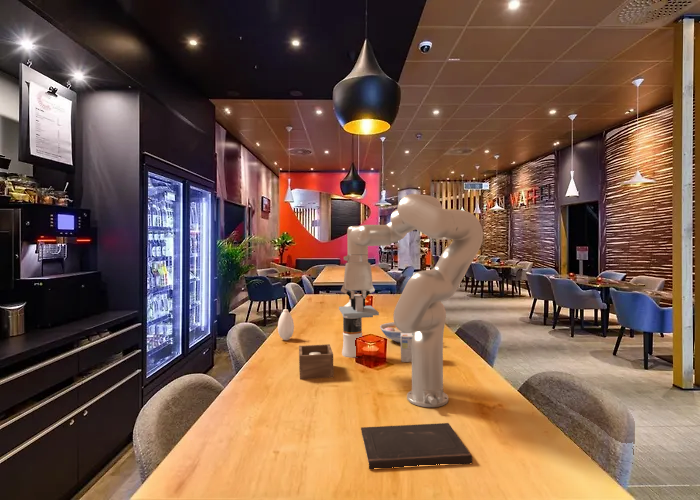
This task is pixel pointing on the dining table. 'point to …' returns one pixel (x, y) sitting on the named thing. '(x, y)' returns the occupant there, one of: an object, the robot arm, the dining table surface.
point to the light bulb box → (406, 347)
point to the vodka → (351, 333)
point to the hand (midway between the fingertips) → (358, 308)
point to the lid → (358, 309)
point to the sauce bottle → (285, 325)
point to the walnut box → (315, 361)
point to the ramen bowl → (391, 331)
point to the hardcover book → (413, 446)
